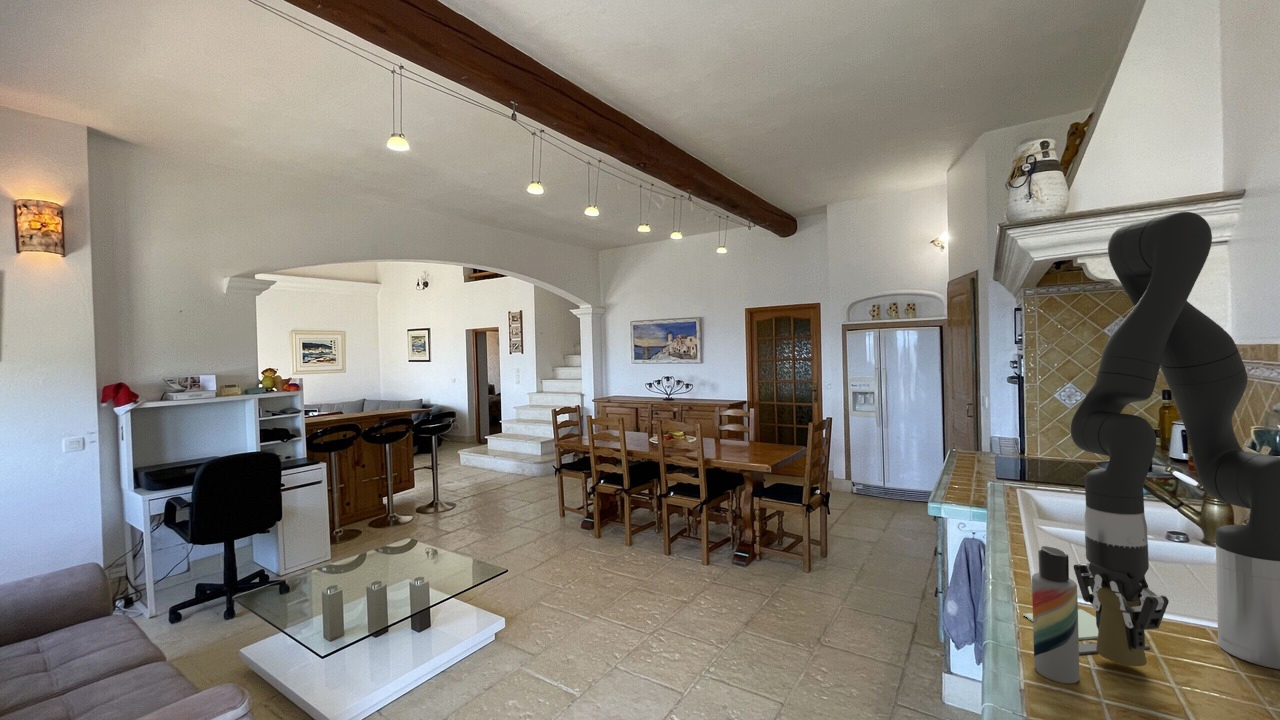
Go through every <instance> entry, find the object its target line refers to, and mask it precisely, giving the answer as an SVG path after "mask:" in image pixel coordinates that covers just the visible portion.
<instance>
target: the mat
mask: <svg viewBox="0 0 1280 720" xmlns="http://www.w3.org/2000/svg"><path fill="white" fill-rule="evenodd" d="M1024 616H1025V617H1027V618H1028V619H1027V618H1026V619H1027V620H1029V621H1030V620H1031V621H1030V622H1032V623H1033V612H1028V613H1022V617H1024ZM1025 617H1024V618H1025ZM1078 635H1079V641H1081V640H1093V639H1098V628H1097V625H1096V615H1095V616H1094V615H1093V614H1091V613H1089V612H1087V611H1085V610H1084V609H1081V608H1078Z"/></svg>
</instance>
